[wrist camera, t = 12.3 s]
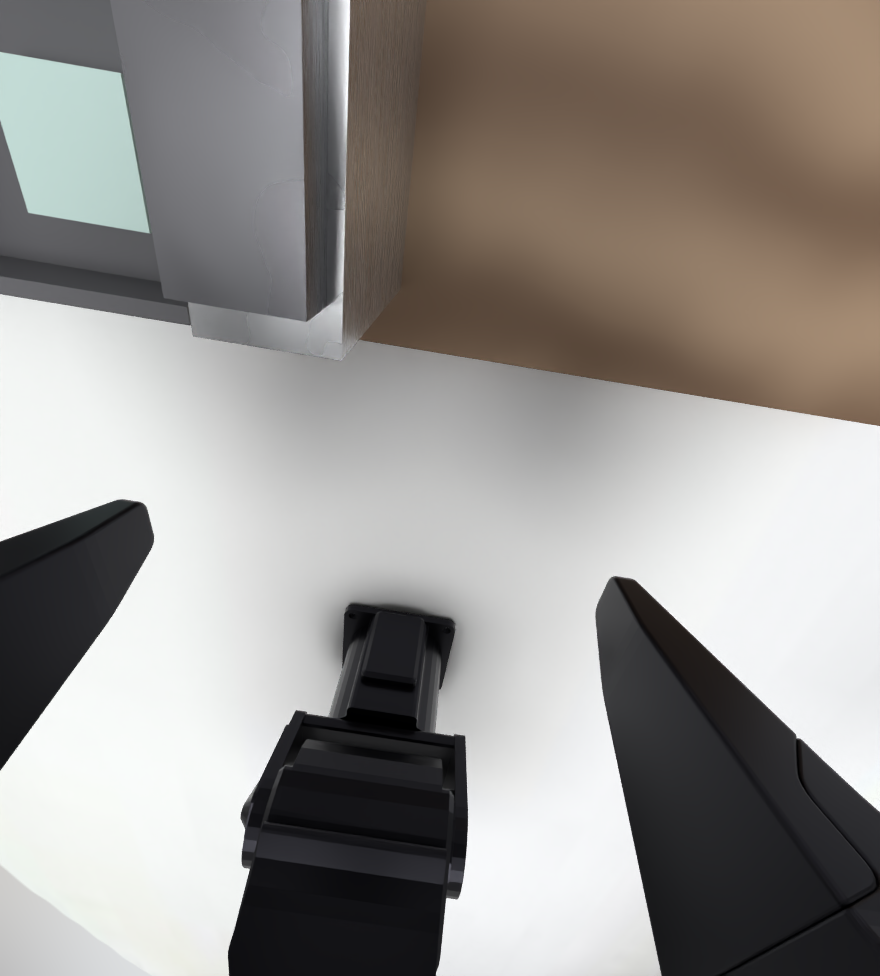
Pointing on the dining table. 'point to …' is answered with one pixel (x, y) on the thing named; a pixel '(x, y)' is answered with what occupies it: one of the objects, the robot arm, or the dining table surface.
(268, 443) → the dining table surface
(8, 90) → the tile
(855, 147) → the board
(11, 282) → the tray
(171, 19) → the grey block
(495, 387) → the dining table surface
